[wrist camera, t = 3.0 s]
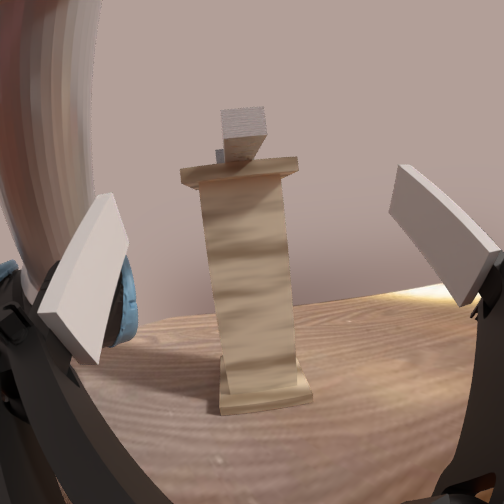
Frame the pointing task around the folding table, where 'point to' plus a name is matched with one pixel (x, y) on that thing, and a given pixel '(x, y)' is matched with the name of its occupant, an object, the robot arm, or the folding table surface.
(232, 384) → the pedestal
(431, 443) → the folding table surface
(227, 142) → the grey long bar
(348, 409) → the folding table surface
